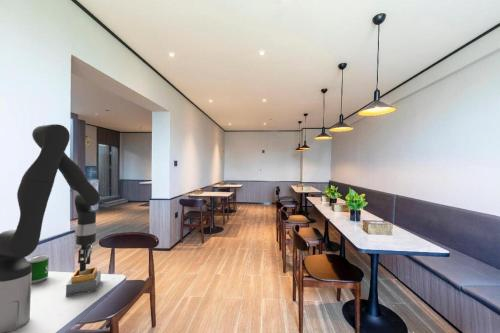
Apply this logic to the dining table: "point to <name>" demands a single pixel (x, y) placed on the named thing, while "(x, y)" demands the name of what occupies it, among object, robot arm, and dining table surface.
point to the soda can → (39, 267)
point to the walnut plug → (85, 272)
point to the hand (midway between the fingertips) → (85, 267)
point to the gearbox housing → (83, 282)
